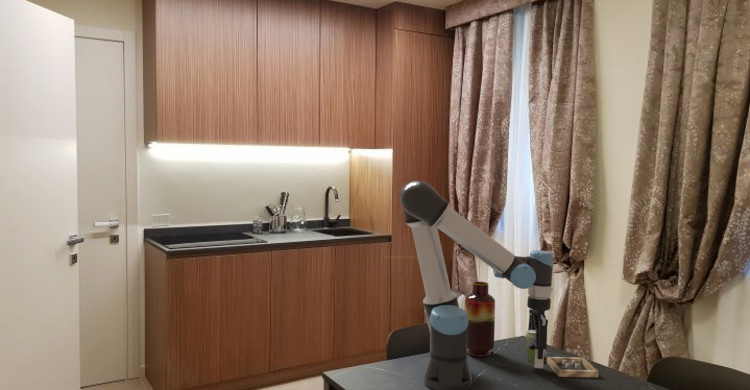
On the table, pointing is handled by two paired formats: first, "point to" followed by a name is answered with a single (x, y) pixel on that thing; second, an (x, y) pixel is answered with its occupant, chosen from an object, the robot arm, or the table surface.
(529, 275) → the robot arm
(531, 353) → the beverage can
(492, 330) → the vase
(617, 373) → the table surface
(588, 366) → the peg frame
